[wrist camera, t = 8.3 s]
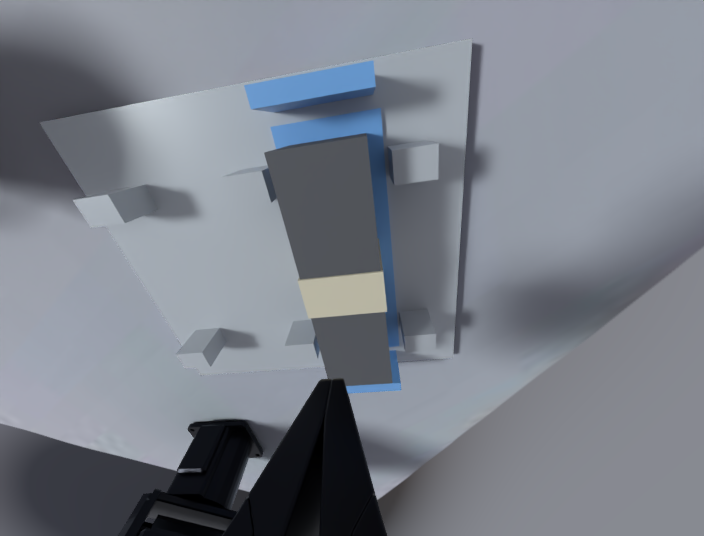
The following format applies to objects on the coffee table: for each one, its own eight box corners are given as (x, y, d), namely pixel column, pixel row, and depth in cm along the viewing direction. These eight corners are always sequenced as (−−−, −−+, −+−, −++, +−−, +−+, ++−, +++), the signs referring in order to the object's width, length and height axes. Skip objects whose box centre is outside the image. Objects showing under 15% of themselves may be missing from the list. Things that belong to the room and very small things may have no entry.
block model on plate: (450, 352, 21) (465, 391, 18) (204, 370, 24) (179, 407, 20) (467, 42, 12) (505, 11, 9) (50, 122, 14) (-39, 122, 11)
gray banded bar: (388, 337, 20) (394, 384, 16) (334, 341, 20) (328, 388, 17) (368, 132, 13) (369, 135, 9) (288, 145, 13) (260, 153, 10)
